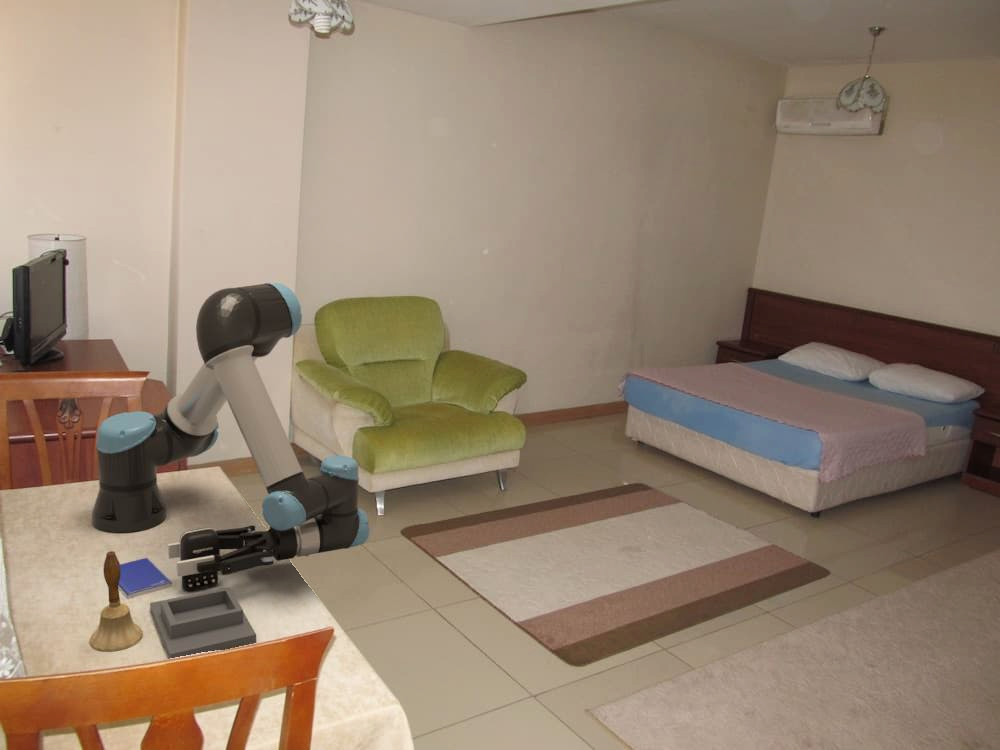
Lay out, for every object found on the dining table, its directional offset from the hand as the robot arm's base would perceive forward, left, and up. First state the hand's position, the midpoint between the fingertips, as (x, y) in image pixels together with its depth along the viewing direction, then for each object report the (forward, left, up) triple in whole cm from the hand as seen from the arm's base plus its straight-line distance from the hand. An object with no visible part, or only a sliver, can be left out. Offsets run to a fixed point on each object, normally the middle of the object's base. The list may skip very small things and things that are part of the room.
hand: (173, 560), depth 158 cm
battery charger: (0, +5, -7) cm, 8 cm away
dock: (+14, +2, -7) cm, 16 cm away
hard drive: (-8, -5, -7) cm, 12 cm away
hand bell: (+12, -12, -7) cm, 18 cm away
